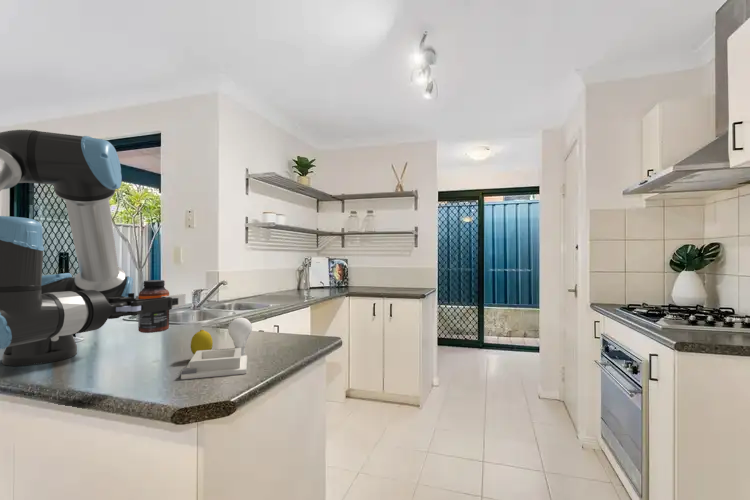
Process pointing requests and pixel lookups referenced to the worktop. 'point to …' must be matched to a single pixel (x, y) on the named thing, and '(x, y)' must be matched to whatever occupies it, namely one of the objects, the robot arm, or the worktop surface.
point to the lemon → (201, 341)
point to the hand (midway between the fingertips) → (171, 299)
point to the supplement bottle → (154, 319)
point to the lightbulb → (240, 332)
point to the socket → (215, 363)
